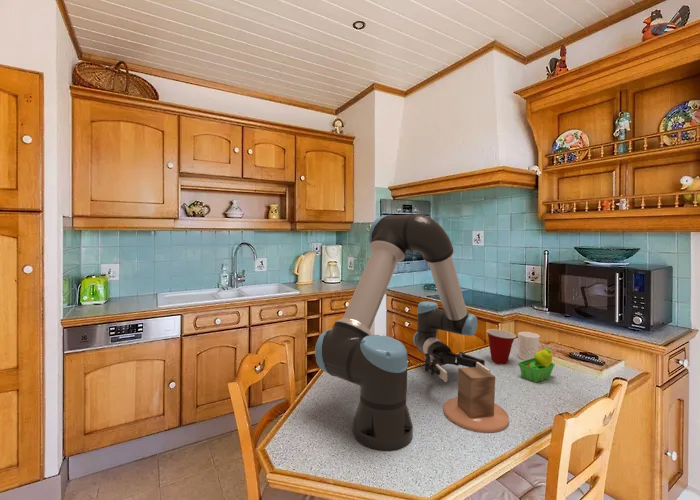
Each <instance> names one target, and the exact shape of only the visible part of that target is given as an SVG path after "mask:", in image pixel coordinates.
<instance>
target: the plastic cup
mask: <svg viewBox="0 0 700 500" xmlns="http://www.w3.org/2000/svg"><path fill="white" fill-rule="evenodd" d="M486 333H487V337H488V345H489V353H490V355H491V356H490V358H491V362H492V363H494V364H498V365H507V364H508V362H509V358H510V354H511V350H512V346H513V343H514V340H515V339H516V338H517V335H516V334H515V333H513V332H510V331H507V330H502V329H496V328H493V329H492V328H491V329H486Z"/></svg>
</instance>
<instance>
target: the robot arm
mask: <svg viewBox="0 0 700 500" xmlns="http://www.w3.org/2000/svg"><path fill="white" fill-rule="evenodd" d="M368 234H369V236H368V241H369V245H370V247H369V248H370V250H371V255H370V256H369V259H368V262H367V263H366V265H365V268H364V270H363V272H362V275H361V276H360V279H359V281H358V283H357V286H356V288H355V290H354V293H353V295H352V296H351V299H350V301H349V303H348V306H347V308H346V310H345V312H344V314H343V317H342V318H340V319H337V320H336V321H335V322H334V324H333V326H332V328H331V329H326V330H324V331H322V332H321V334H320V335H319V336H318V338H317V340H316V343H315V348H314V355H315V356H314V357H315V361H316V364H317V366H318V368H319V369H320V370H321V371H323V372H325V373H326V374H328V375H330V376H332V377H336V378H339V379H342V380H344V381H347V382H349V383H352V384H355V385H358V386H359V387H360V389H359V393H360V394H359V397H360V398H359V403H358V406H357V407H356V411H355V414H354V417H353V422H352V434H353V436H354V438H355V440H357V442H359V443H360V444H361V445H364V446H365V447H367V448H371V449H374V450H380V451H394V450H397V449H401V448H403V447H405V446H407V445H408V444H409V443H410V442H411V441H412V439H413V436H414V435H413V434H414V425H413V422H412V418H411V415H410V411H409V408H408V404H407V393H408V392H407V389H408V388H407V385H408V368H409V362H408V350H407V349H406V346H405V345H404V343H402V342H401V341H400V340H398V339H395V338H393V337H391V336H387V335H380V334H372V333H371V329H372V326H373V324H374V321H375V318H376V316H377V313H378V311H379V309H380V306H381V303H382V301H383V299H384V297H385V294H386V292H387V289H388V287H389V284H390V281H391V279H392V277H393V274H394V272H395V269H396V267H397V265H398V263H400V262H401V263H402V262H403V261H404V260H405V258H406V254H407V253H408V252H417V253H419V254H421V256H422V259H423V261H425V262H426V263H428V267H429V269H430V272H431V275H432V277H433V278H432V279H433V282H434V284H435V288H436V291H437V294H438V297H439V299H440V302H441V305H442V309H440V308H439V304H438V303H437V302H435V301H429V300H428V301H421V302H419V303H418V305H417V312H416V315H417V321H416V322H417V323H416V329H417V330H416V332H414V335H413V337H412V340H413V344H414V346H415V347H416V348H417V350H418V351H420V352H422V354H423V355H424V372H426V373H428V372H429V371H430V375H433V376H434V375H436V376H437V377H439V378H440V379H441V380H442V381H443V382H445V383H446V382H447V383H448V372H447V370H445V369H444V368H443V367H442V366H446V365H454V366H462V367H465V368H468V367H482V368H483V369H485V370H486V371H488V372H489V373H491V369H489V368H487V366H486V364H485V363H486V361H485V360H483V359H481V358H478V357H475V356H473V355H469V354H466V353H464V352H463V351H459V353H455V352H452V349H451V348H450V346H449V345H447V344H446V343H444V342H443V341H441V340H440V339H438V330H439V331H443V332H448V333H453V334H456V335H461V336H469V337H472V336H474V335H475V334H476V332H477V329H478V325H479V323H478V318H477V316H476V315H475V314H472V313H468V309H467V307H466V303H465V299H464V297H463V292H462V289H461V285H460V282H459V279H458V274H457V271H456V266H455V263H454V260H453V257H452V256H453V255H454V247H453V243H452V241H451V239H450V237H449V235H448V233H447V232H446V230H445V229H444V228H443V227H442V226H441V225H440V223H438V222H437V221H436V220H435V219H434V218H432V217H430V216H428V215H425V214H422V213H421V214H419V213H416V214H397V215H395V214H387V215H382V216H378V217H377V218H375V219H374V221H373V222H372V224H371V225H370V227H369V231H368Z"/></svg>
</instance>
